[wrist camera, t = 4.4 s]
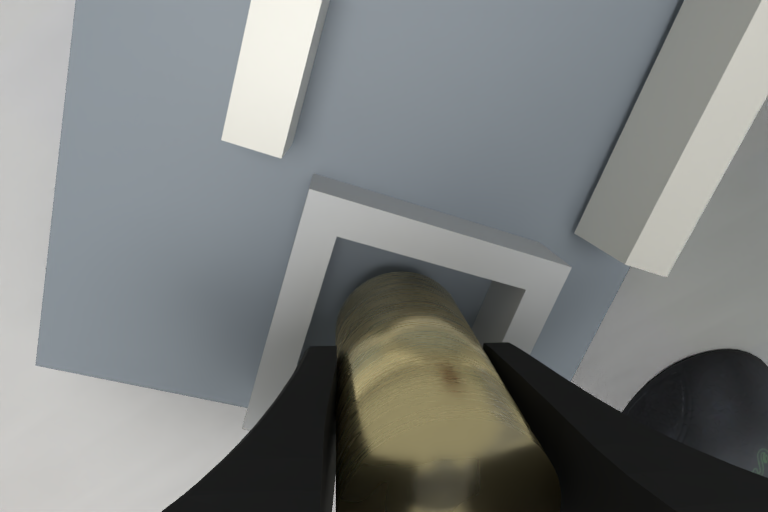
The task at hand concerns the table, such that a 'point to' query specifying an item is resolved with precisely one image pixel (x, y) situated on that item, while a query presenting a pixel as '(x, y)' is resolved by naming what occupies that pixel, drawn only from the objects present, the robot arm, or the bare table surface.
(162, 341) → the base board
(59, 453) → the table surface
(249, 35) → the frame
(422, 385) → the pin
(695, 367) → the computer mouse
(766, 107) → the table surface
